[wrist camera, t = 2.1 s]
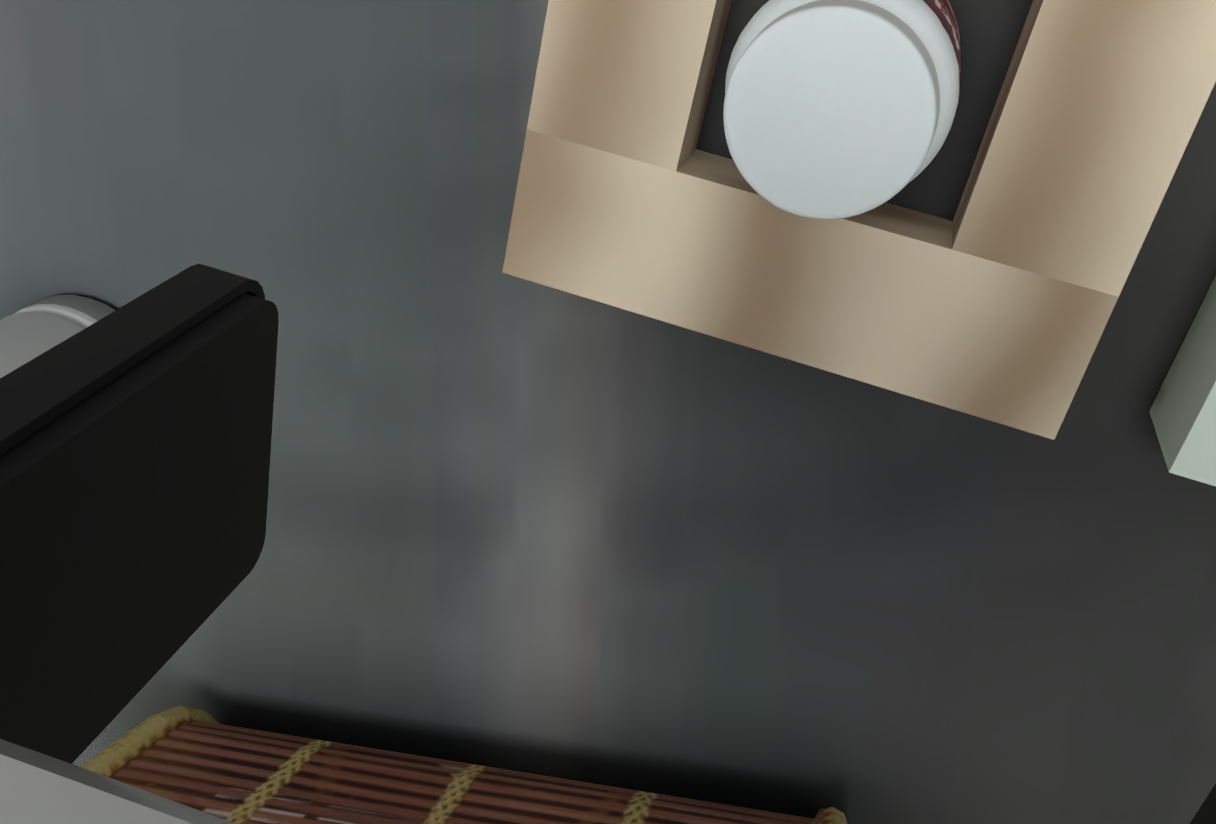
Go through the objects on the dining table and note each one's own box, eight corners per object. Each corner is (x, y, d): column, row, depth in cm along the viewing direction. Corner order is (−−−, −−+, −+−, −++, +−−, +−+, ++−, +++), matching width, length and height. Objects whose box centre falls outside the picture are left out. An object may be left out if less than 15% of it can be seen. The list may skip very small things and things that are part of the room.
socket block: (1318, -216, 24) (1352, -224, 22) (1048, 399, 32) (1054, 440, 29) (642, -361, 27) (613, -380, 24) (532, 245, 34) (502, 272, 32)
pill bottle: (972, 128, 29) (973, 220, 22) (784, 160, 31) (728, 256, 24) (950, -72, 27) (943, -44, 20) (752, -27, 29) (680, 15, 22)
